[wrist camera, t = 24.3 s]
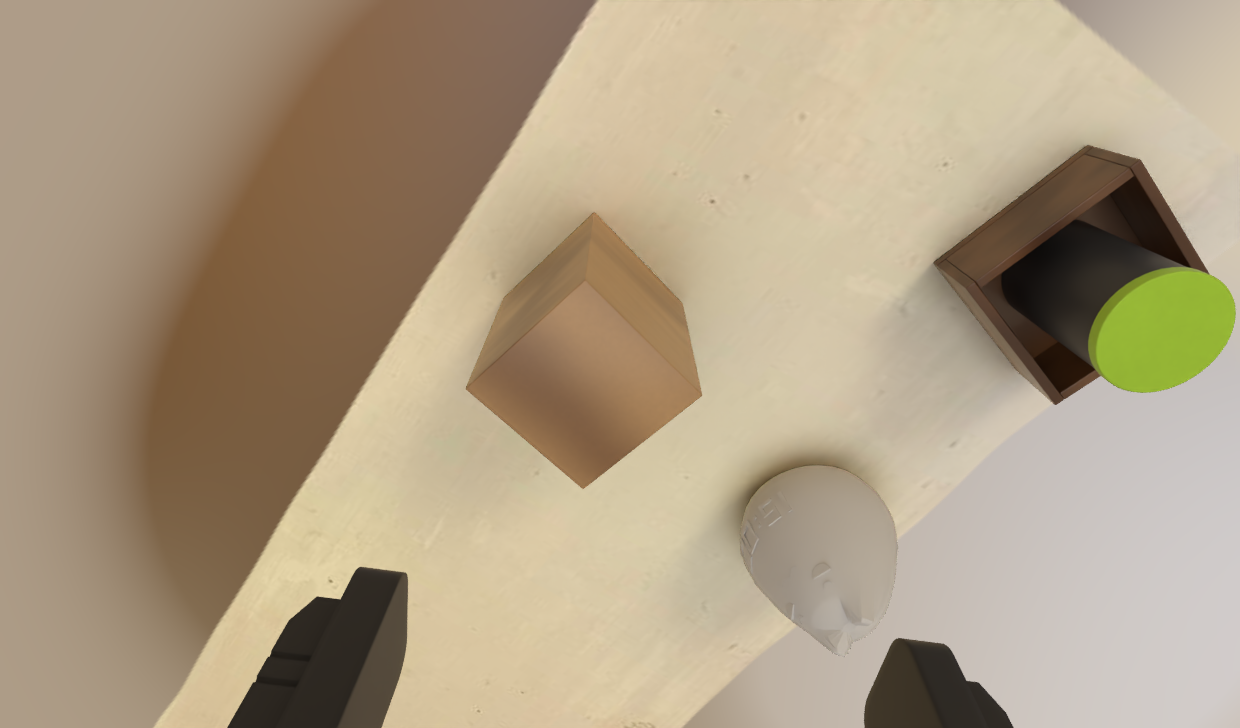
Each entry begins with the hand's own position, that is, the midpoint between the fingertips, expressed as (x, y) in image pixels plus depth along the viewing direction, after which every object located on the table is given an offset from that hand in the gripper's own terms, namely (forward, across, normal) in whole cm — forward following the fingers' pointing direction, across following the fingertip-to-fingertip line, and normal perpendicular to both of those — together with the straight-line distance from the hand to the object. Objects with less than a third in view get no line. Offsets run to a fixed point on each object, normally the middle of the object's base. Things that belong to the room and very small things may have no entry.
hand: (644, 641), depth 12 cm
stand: (+33, +2, +8) cm, 34 cm away
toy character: (+34, -15, +21) cm, 42 cm away
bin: (+34, -26, +1) cm, 42 cm away
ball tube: (+33, -25, +1) cm, 42 cm away
